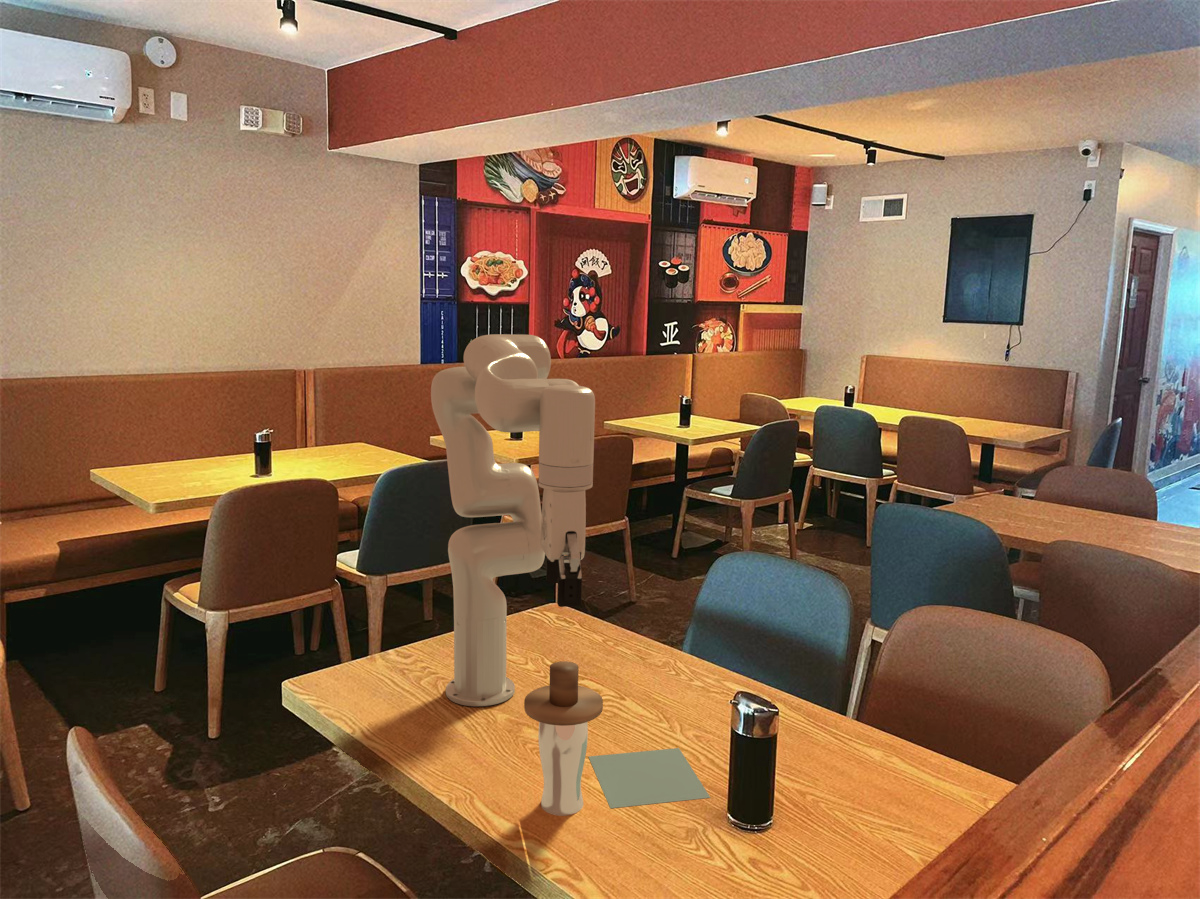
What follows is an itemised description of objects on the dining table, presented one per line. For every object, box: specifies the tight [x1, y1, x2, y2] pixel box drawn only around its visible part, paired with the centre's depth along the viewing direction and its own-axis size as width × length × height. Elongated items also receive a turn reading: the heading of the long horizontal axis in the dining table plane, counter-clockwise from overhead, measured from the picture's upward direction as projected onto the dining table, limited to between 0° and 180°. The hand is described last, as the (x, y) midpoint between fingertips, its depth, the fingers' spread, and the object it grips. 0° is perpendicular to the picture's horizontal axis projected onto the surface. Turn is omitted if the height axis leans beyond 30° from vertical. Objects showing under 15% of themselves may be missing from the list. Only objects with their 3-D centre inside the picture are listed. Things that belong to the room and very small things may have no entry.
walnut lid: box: [523, 660, 604, 726], centre depth 124 cm, size 11×11×6 cm
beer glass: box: [537, 722, 589, 817], centre depth 126 cm, size 7×7×15 cm
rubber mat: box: [587, 747, 711, 810], centre depth 135 cm, size 15×15×1 cm
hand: (563, 593), depth 126 cm, fingers open, 9 cm apart
